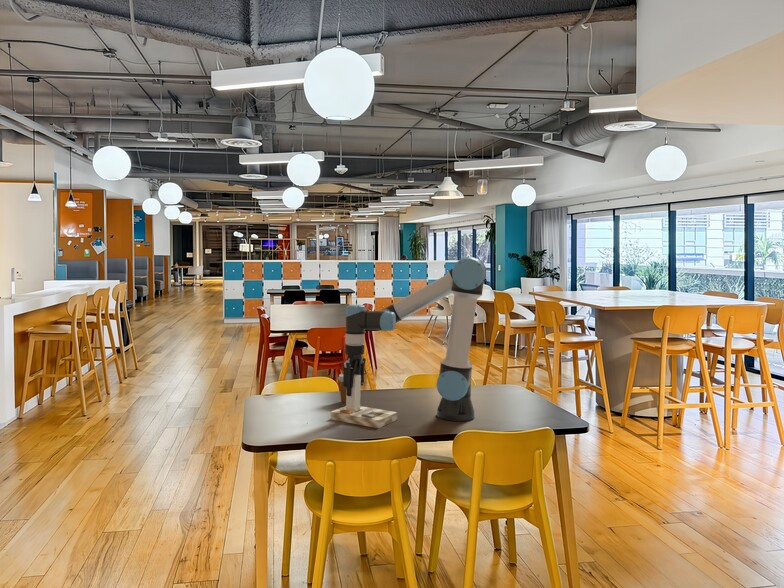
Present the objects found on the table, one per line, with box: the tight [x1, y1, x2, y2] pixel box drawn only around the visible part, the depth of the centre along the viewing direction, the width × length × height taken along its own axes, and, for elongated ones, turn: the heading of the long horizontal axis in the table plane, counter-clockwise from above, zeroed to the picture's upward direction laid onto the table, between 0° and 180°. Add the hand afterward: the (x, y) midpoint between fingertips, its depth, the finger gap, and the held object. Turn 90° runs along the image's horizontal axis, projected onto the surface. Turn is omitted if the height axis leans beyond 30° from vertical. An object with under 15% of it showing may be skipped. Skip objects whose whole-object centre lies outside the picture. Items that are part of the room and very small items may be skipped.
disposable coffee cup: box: [337, 373, 347, 405], centre depth 269 cm, size 10×10×12 cm
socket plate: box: [330, 405, 398, 429], centre depth 242 cm, size 22×14×4 cm, turn 60°
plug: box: [345, 374, 362, 412], centre depth 244 cm, size 4×4×14 cm
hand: (353, 402), depth 245 cm, fingers closed on plug, 4 cm apart
